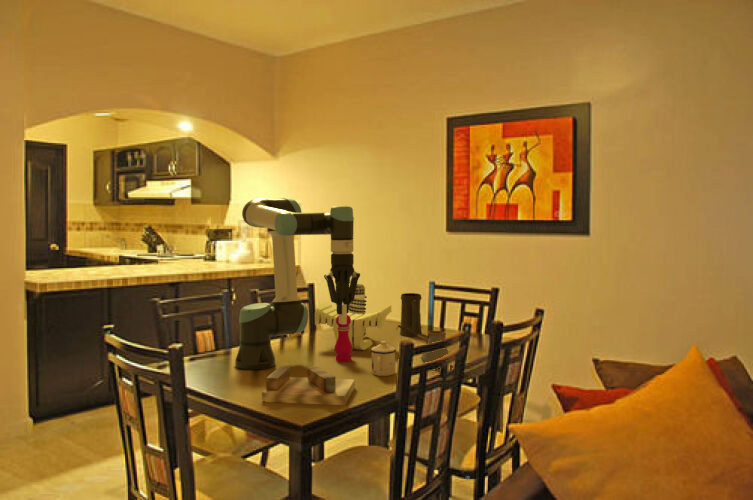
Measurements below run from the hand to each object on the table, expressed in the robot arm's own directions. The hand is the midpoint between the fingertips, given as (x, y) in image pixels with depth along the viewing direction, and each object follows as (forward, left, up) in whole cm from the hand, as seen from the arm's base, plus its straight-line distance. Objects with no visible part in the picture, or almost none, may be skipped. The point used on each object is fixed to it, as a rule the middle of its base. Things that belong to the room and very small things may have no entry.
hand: (342, 323), depth 198 cm
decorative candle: (-9, +83, -22) cm, 86 cm away
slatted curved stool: (-7, +62, -22) cm, 66 cm away
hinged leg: (-5, -10, -18) cm, 21 cm away
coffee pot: (+25, +35, -22) cm, 48 cm away
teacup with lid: (+11, +19, -22) cm, 31 cm away
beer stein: (+17, +90, -22) cm, 94 cm away
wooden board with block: (-9, -9, -22) cm, 25 cm away
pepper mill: (-7, +38, -22) cm, 44 cm away
